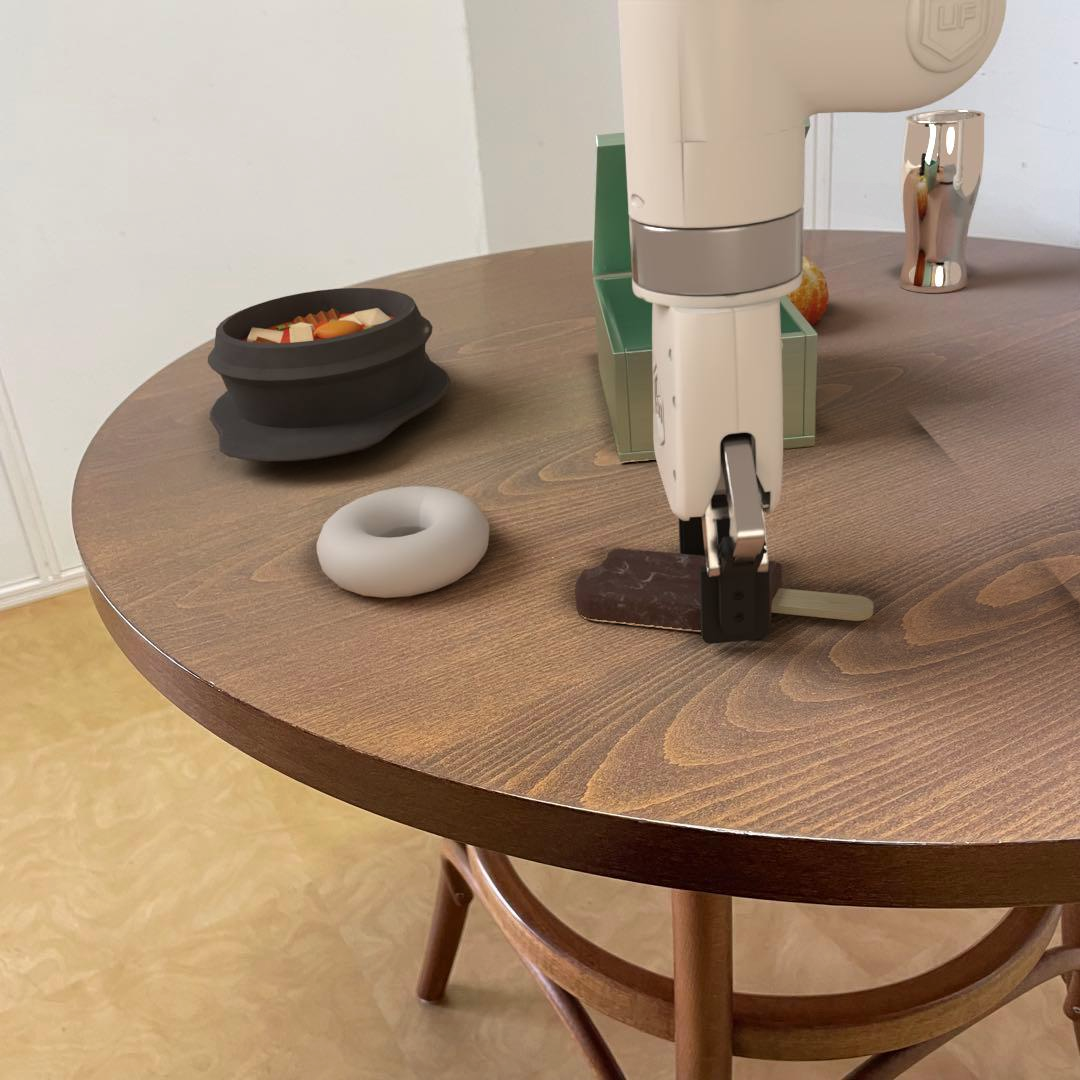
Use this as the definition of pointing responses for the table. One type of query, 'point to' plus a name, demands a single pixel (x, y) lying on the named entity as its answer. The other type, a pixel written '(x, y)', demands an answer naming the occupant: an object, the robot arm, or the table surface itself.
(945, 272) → the beer glass
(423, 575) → the donut
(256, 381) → the casserole
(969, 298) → the table surface
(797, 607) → the ice cream bar
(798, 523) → the table surface
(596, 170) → the freezer lid
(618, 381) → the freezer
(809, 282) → the fruit
